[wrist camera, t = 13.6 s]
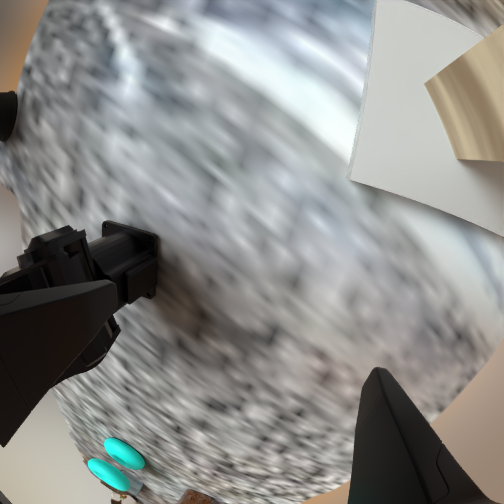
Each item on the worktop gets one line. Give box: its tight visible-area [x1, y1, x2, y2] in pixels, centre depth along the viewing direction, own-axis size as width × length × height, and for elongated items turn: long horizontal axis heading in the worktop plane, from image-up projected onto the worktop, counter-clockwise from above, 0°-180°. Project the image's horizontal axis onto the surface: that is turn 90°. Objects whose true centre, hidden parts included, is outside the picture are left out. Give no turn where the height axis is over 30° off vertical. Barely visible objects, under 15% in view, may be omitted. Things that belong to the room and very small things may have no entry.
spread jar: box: [111, 491, 138, 504], centre depth 64 cm, size 12×11×12 cm
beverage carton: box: [101, 470, 143, 497], centre depth 53 cm, size 8×19×7 cm, turn 138°
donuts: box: [88, 438, 145, 491], centre depth 39 cm, size 10×10×10 cm
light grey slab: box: [346, 0, 504, 237], centre depth 13 cm, size 14×14×3 cm
